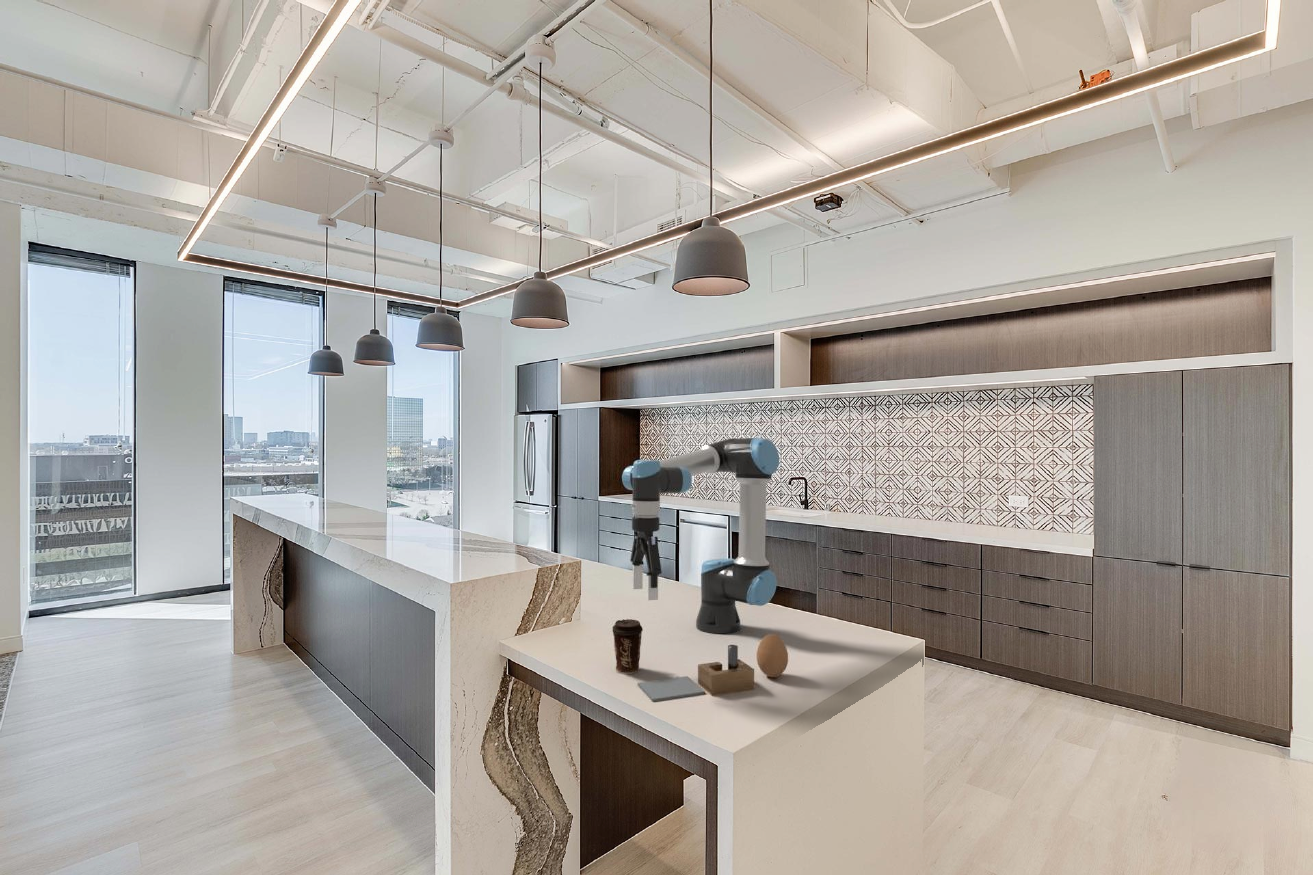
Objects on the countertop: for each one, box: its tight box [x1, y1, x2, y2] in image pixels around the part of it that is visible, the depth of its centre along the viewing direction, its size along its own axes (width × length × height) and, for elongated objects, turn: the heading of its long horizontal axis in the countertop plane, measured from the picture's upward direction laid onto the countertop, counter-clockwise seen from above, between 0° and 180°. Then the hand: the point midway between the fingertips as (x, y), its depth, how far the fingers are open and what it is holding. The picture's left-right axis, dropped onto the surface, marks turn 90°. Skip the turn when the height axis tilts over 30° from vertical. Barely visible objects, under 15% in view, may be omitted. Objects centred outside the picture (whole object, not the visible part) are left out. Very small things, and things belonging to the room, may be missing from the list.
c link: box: [697, 658, 755, 696], centre depth 157 cm, size 12×8×5 cm, turn 111°
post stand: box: [727, 644, 739, 670], centre depth 158 cm, size 3×3×10 cm
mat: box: [637, 675, 706, 702], centre depth 155 cm, size 14×11×1 cm
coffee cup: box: [612, 618, 644, 675], centre depth 169 cm, size 9×8×13 cm
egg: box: [756, 633, 789, 678], centre depth 164 cm, size 8×8×11 cm
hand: (644, 594), depth 167 cm, fingers open, 13 cm apart
